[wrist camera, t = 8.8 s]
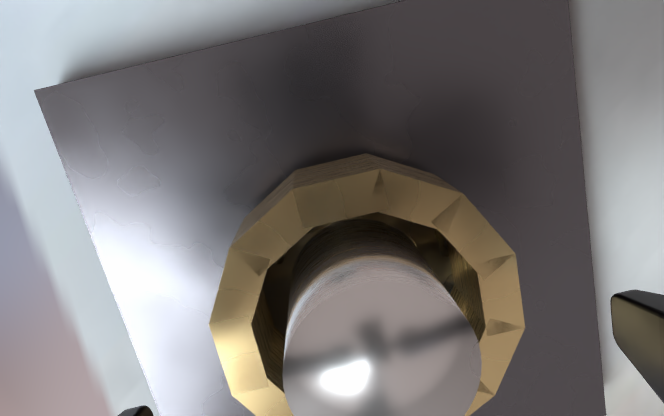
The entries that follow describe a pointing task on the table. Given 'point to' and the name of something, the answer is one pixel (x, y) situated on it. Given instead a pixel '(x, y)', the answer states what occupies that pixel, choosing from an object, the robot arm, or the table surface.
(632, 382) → the table surface
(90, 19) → the table surface
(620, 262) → the table surface
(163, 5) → the table surface
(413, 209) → the ring
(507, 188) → the piston stand
